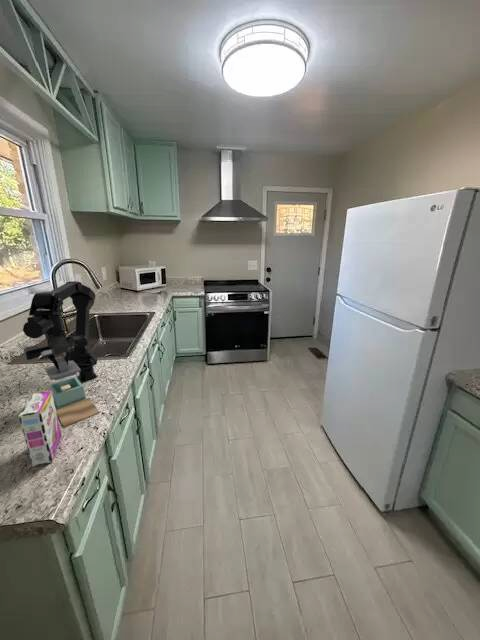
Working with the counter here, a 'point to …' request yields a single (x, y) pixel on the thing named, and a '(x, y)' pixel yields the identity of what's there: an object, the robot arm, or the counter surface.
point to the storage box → (67, 391)
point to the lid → (62, 369)
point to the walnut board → (76, 412)
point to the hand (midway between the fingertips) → (62, 367)
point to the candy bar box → (40, 428)
